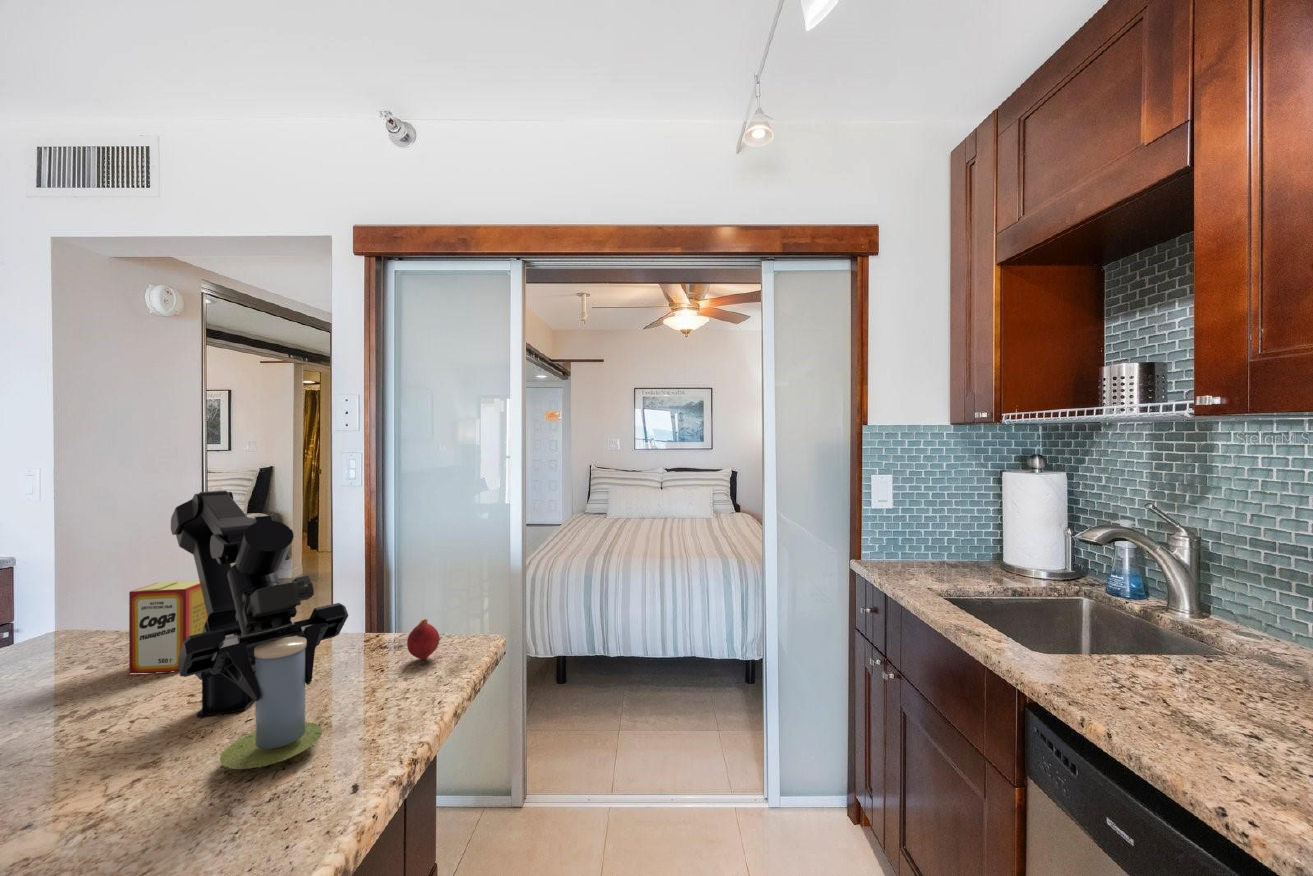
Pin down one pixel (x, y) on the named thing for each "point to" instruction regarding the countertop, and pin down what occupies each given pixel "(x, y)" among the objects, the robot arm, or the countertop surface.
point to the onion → (423, 640)
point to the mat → (266, 750)
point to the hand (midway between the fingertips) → (284, 691)
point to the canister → (280, 691)
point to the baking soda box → (163, 624)
